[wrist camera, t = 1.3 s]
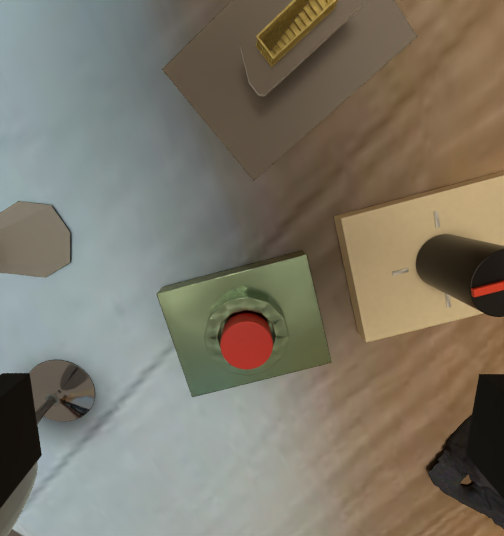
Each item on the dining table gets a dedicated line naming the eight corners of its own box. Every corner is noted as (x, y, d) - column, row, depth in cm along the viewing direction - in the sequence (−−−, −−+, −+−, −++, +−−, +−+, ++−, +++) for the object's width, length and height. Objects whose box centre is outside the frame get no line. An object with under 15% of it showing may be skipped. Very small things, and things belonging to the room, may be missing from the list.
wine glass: (100, 361, 34) (-7, 487, 20) (97, 428, 36) (-4, 590, 21) (20, 351, 34) (-151, 474, 19) (21, 420, 36) (-135, 580, 21)
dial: (465, 227, 29) (543, 240, 22) (472, 279, 30) (547, 308, 23) (411, 241, 29) (469, 259, 22) (419, 292, 31) (477, 326, 23)
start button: (264, 307, 29) (265, 315, 27) (276, 351, 30) (278, 362, 28) (216, 319, 30) (213, 328, 28) (229, 363, 31) (228, 375, 29)
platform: (161, 69, 28) (137, 34, 22) (330, -98, 26) (358, -192, 20) (253, 180, 31) (256, 178, 24) (417, 36, 28) (467, -9, 22)
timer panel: (504, 170, 31) (528, 168, 28) (515, 292, 33) (538, 300, 31) (333, 216, 31) (341, 218, 29) (357, 331, 34) (366, 343, 31)
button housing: (302, 249, 32) (310, 258, 28) (326, 352, 34) (336, 372, 31) (162, 286, 33) (150, 299, 29) (195, 384, 35) (189, 409, 31)
